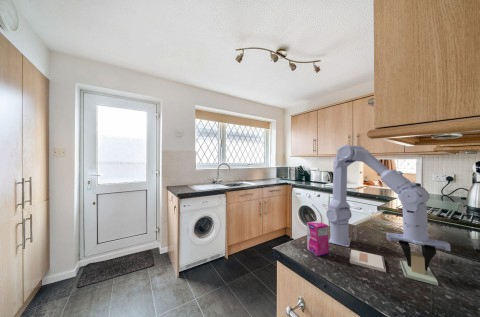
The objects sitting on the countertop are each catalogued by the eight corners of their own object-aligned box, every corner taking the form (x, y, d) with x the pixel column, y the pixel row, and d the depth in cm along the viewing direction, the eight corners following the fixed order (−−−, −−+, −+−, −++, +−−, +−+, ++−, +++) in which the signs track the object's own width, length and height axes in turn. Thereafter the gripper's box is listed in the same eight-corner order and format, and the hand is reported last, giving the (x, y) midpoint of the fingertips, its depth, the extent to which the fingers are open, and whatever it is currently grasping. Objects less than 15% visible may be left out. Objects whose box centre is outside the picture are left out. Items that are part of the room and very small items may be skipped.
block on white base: (400, 262, 64) (399, 245, 64) (428, 269, 60) (427, 251, 60) (405, 277, 55) (404, 257, 56) (438, 285, 51) (437, 264, 52)
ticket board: (351, 251, 72) (351, 249, 72) (383, 259, 66) (383, 256, 66) (349, 263, 64) (349, 259, 64) (386, 272, 58) (385, 268, 58)
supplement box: (306, 250, 73) (306, 222, 74) (318, 248, 75) (317, 220, 76) (317, 257, 68) (316, 226, 68) (329, 254, 70) (328, 224, 70)
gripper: (387, 223, 59) (389, 265, 58) (453, 232, 51) (456, 282, 50) (385, 218, 65) (386, 256, 64) (444, 225, 56) (446, 270, 56)
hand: (416, 267), depth 58 cm, fingers closed on block on white base, 3 cm apart
